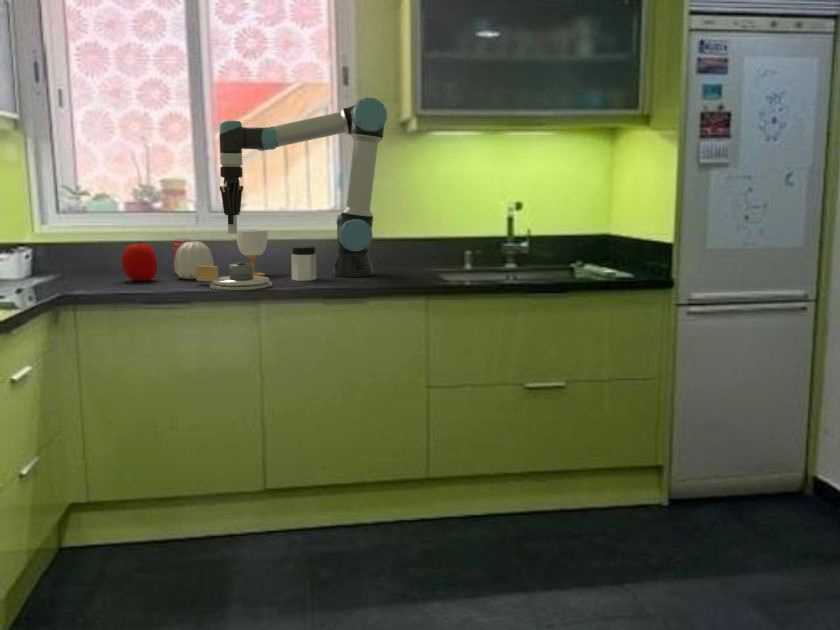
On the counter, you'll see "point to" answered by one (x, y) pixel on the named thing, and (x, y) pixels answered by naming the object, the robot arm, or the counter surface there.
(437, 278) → the counter surface
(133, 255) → the tomato
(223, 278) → the turntable
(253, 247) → the cup
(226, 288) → the base
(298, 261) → the jar
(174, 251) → the soda can
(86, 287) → the counter surface
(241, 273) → the grey stone pot
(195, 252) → the vase
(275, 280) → the counter surface
